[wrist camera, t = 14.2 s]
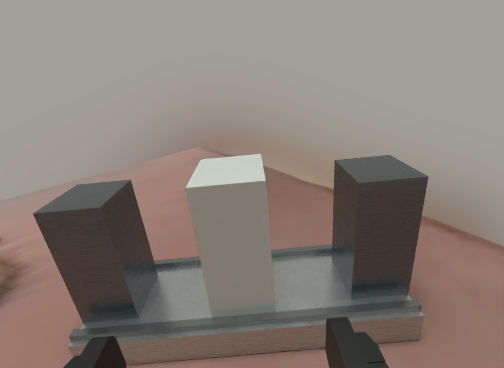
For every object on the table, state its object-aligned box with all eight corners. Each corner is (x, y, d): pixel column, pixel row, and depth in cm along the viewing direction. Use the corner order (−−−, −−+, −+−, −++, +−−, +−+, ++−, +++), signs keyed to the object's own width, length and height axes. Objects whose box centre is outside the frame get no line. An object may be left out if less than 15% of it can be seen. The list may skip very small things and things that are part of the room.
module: (211, 316, 21) (185, 188, 17) (219, 264, 26) (201, 159, 22) (275, 311, 21) (265, 180, 16) (269, 260, 26) (260, 153, 22)
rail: (79, 368, 20) (7, 230, 16) (127, 283, 29) (90, 176, 24) (418, 339, 20) (450, 188, 15) (367, 262, 28) (378, 148, 24)
